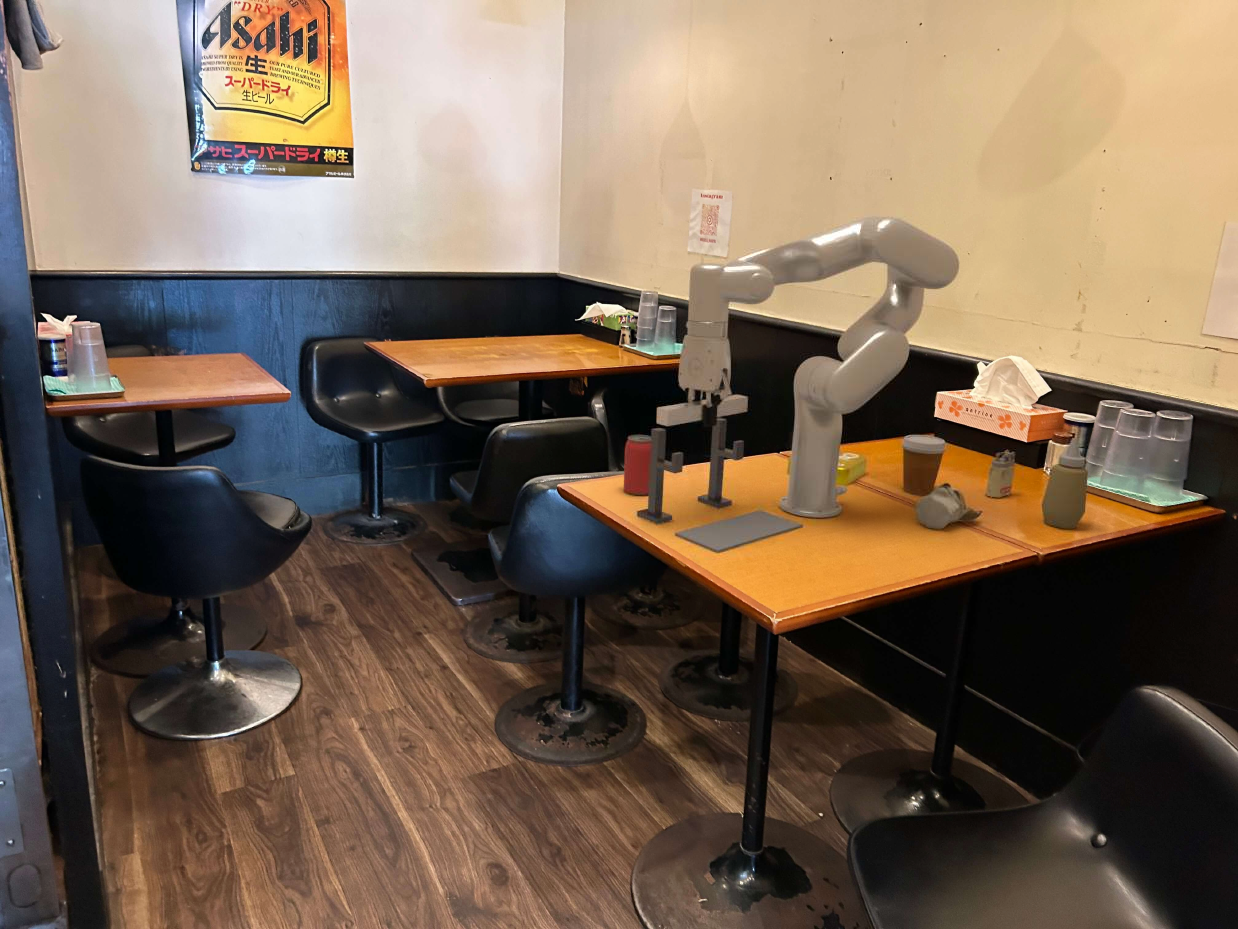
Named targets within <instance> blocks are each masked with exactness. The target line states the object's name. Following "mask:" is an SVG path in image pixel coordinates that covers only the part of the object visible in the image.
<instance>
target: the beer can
mask: <svg viewBox="0 0 1238 929" xmlns="http://www.w3.org/2000/svg"><path fill="white" fill-rule="evenodd" d="M650 450H651V436H650V435H646V434H645V435H644V434H633V435H629V436H628V437H627V441H626V443H625V446H624V468H623V469H624V470H623V490H624V492H626V493H627V494H629V495H633V496H647V495H648V494H649V472H650Z"/></svg>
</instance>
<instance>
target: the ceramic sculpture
mask: <svg viewBox="0 0 1238 929" xmlns="http://www.w3.org/2000/svg"><path fill="white" fill-rule="evenodd" d="M982 513H983V510H975V509H973V508H972V507H971V508H970V507H968V506H967V504H966V500H965V497H964V494H963V493H962V491H961V490H960V489H959V490H958V489H956V488H954V487H951V484H949V483H948V482H946V483H945V482H944V483H943V484H941V485H938V486H936V487H934V489H933V492H931V493H930V494H929V495H923V497H921V498H920V499H919V501H918V502H917V503H916V504H915V514H916V518H917V520H918V522H919V523H920V524H921V525H923V526H925V527H927V528H929V529H933V530H935V529H936V530H941V529H944V528H945V527H947V525H948V524H952V523H955V522H958V521H962V522H970V521H974V520H976V519H977V518H979V517H980V516H981V515H982Z"/></svg>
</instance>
